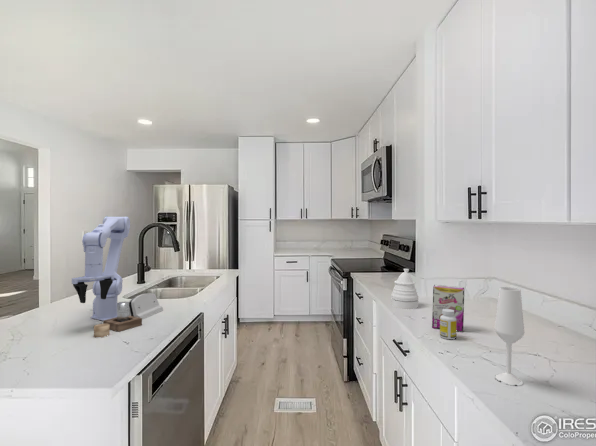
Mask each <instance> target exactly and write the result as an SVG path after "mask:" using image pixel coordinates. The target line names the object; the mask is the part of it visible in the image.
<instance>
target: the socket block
mask: <svg viewBox="0 0 596 446" xmlns="http://www.w3.org/2000/svg"><path fill="white" fill-rule="evenodd" d="M102 324H110V331H111V330H112V331H115V332H118V333H120V332H123V331H126V330H130V329H133V328H137V327H139V326H140V327H141V326H142V325H143V320H142V318H139V317H134V316H129V320H128V321H124V322H117V317H116V318H112V319H108V320H104V321H102Z"/></svg>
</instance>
